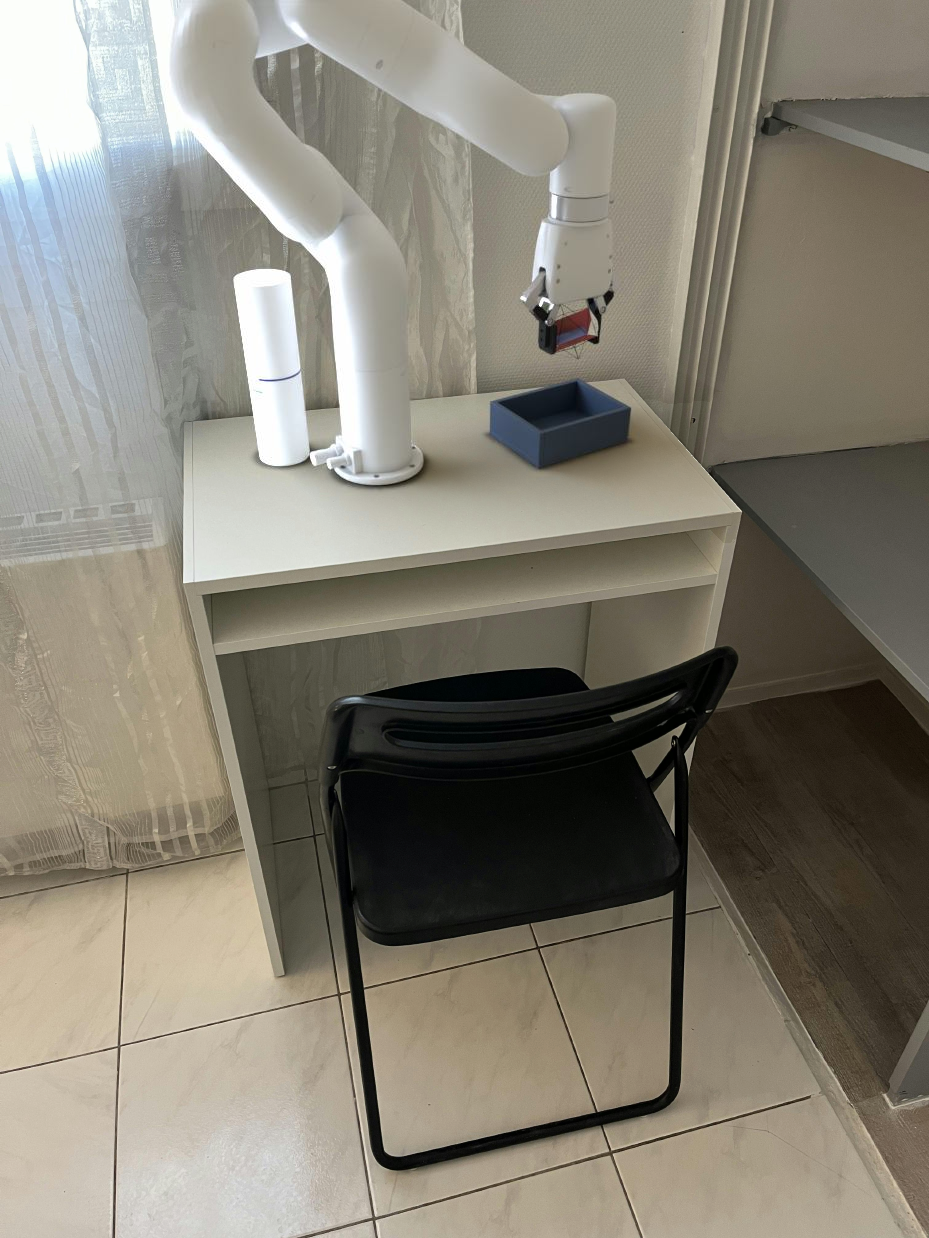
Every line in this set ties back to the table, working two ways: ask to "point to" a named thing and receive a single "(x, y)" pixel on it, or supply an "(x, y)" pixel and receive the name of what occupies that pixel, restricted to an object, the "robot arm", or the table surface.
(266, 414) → the cylindrical container
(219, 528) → the table surface
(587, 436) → the bin
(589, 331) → the geometric puzzle
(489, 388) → the table surface
